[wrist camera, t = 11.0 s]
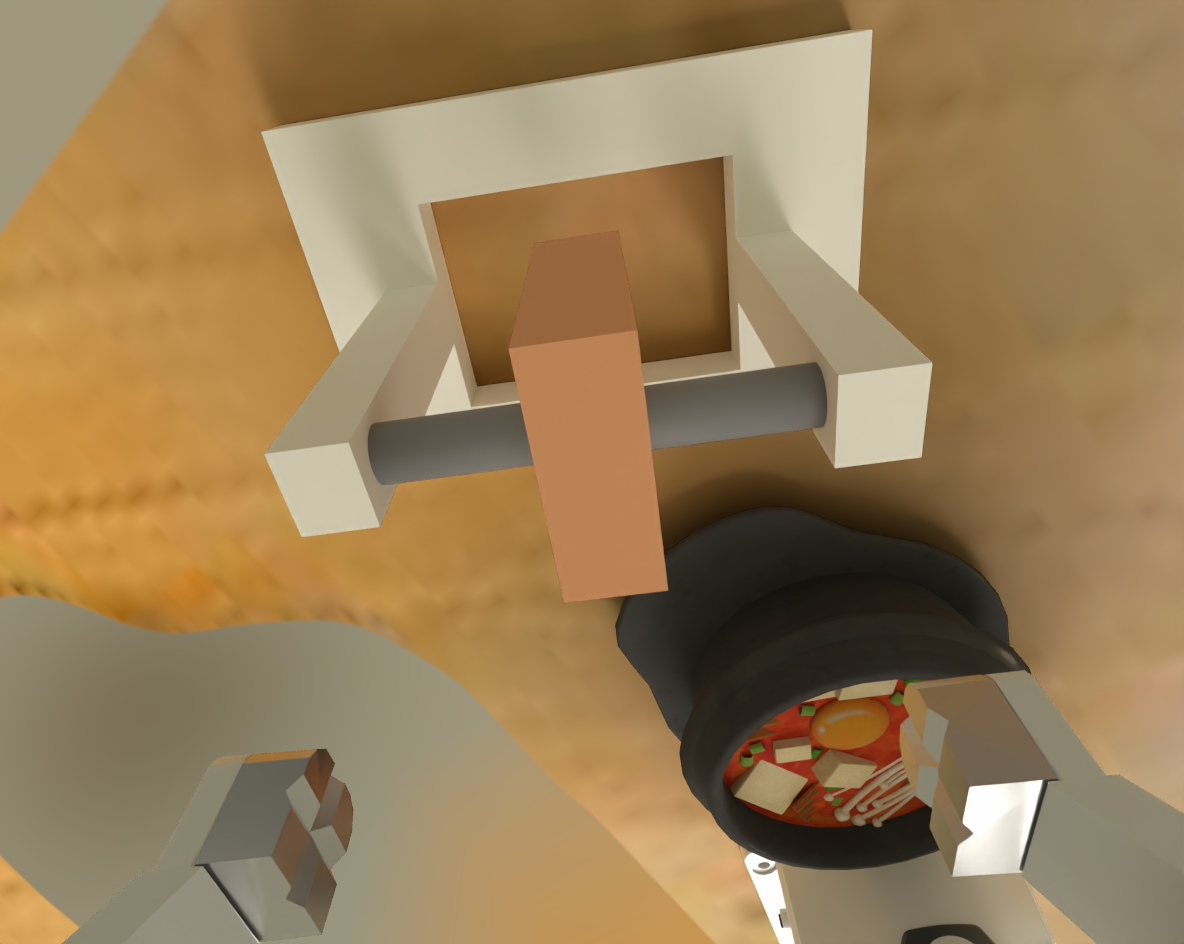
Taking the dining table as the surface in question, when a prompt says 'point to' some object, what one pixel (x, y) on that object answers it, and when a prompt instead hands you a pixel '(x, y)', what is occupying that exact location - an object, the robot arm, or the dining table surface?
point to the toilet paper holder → (569, 152)
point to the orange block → (588, 418)
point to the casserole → (808, 677)
